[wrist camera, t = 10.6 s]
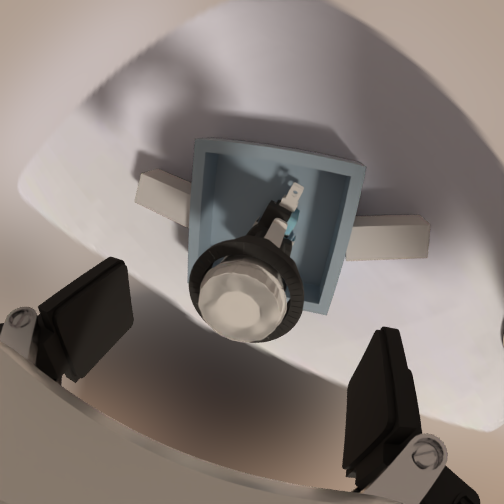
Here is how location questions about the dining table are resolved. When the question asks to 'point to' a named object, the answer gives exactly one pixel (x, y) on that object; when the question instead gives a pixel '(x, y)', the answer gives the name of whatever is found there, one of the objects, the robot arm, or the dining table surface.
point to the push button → (252, 278)
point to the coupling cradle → (274, 188)
